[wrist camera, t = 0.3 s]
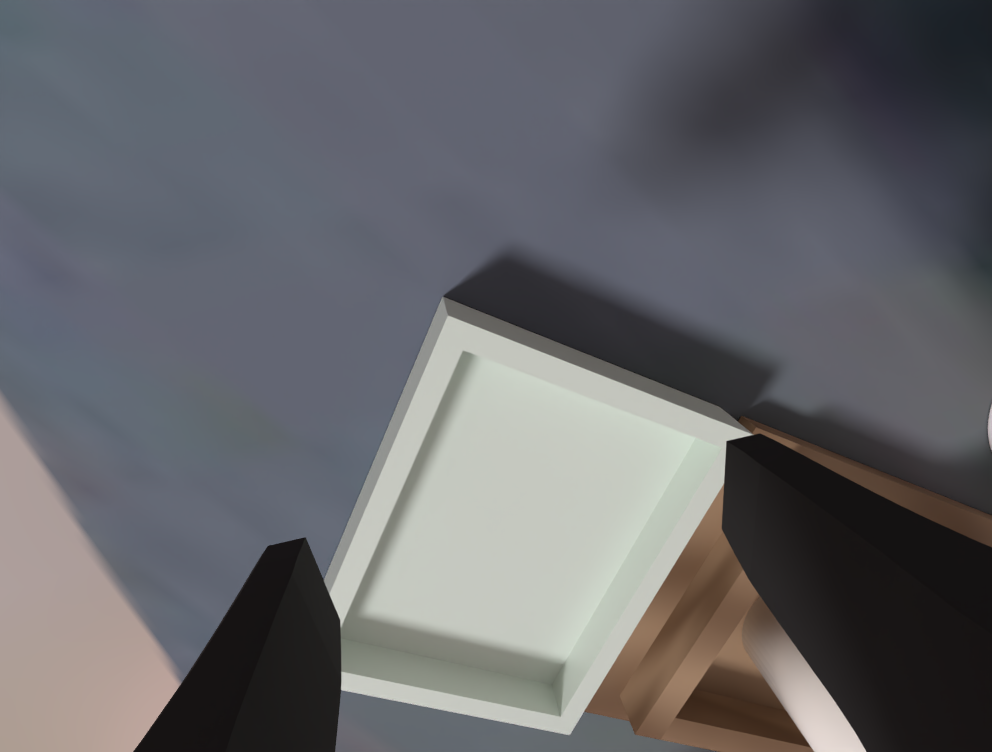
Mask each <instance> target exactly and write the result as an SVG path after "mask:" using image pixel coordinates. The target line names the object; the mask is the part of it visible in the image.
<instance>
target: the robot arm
mask: <svg viewBox="0 0 992 752" xmlns="http://www.w3.org/2000/svg"><path fill="white" fill-rule="evenodd" d="M722 531H723V533H724V534H725V536H726V538H727V540H728V542H729V544H730V546H731V548H732V550H733V552H734V554H735V556H736V558H737V559H738V561H739V563H740V565H741V566H742V568H743V570H744V572H745V574H746V575H747V577H748V579H749V581H750V582H751V584H752V585H753V587H754V588H755V590H756V591H757V593H758V594H759V595H760V597H761V598H762V600H763V601H764V603H765V604H766V605H767V607H768V608H769V610H770V611H771V613H772V614H773V615H774V617H775V618H776V620H777V621H778V623H779V624H780V625H781V627H782V628H783V630H784V631H785V632H786V634H787V635H788V637H789V638H790V639H791V641H792V642H793V644H794V645H795V646H796V648H797V649H798V651H799V652H800V653H801V655H802V656H803V658H804V659H805V660H806V662H807V663H808V665H809V666H810V667H811V669H812V670H813V672H814V673H815V674H816V676H817V677H818V679H819V680H820V681H821V683H822V684H823V686H824V687H825V688H826V690H827V691H828V693H829V694H830V695H831V697H832V698H833V700H834V701H835V703H836V704H837V706H838V707H839V709H840V710H841V712H842V713H843V715H844V716H845V718H846V719H847V721H848V722H849V724H850V725H851V727H852V728H853V730H854V731H855V733H856V735H857V737H858V738H859V740H860V742H861V743H862V745H863V747H864V748H865V750H866V752H992V547H990V546H988V545H985V544H983V543H980V542H978V541H976V540H974V539H971V538H969V537H967V536H965V535H963V534H960V533H958V532H956V531H954V530H952V529H949V528H947V527H945V526H943V525H941V524H938V523H936V522H934V521H932V520H930V519H927V518H925V517H923V516H921V515H919V514H917V513H915V512H913V511H911V510H909V509H907V508H905V507H902V506H900V505H898V504H896V503H894V502H892V501H890V500H888V499H886V498H884V497H882V496H880V495H878V494H876V493H874V492H873V491H871V490H869V489H867V488H865V487H863V486H861V485H859V484H857V483H855V482H853V481H851V480H849V479H847V478H845V477H844V476H842V475H840V474H838V473H836V472H834V471H832V470H830V469H828V468H827V467H825V466H823V465H821V464H819V463H817V462H815V461H813V460H811V459H810V458H808V457H806V456H804V455H802V454H800V453H798V452H796V451H794V450H793V449H791V448H789V447H787V446H785V445H783V444H781V443H779V442H777V441H775V440H773V439H771V438H769V437H767V436H765V435H763V434H761V433H759V434H755V435H750V436H746V437H742V438H737V439H733V440H729V441H726V458H725V476H724V494H723V511H722ZM340 694H341V626H340V618H339V616H338V613H337V611H336V609H335V606H334V604H333V602H332V599H331V597H330V594H329V592H328V590H327V587H326V585H325V583H324V580H323V578H322V575H321V573H320V571H319V568H318V566H317V564H316V561H315V559H314V556H313V554H312V552H311V549H310V547H309V545H308V542H307V540H306V537H305V538H301V539H296V540H292V541H288V542H283V543H279V544H275V545H270V546H268V547H267V548H266V550H265V551H264V553H263V554H262V556H261V557H260V559H259V561H258V562H257V564H256V565H255V567H254V569H253V570H252V572H251V574H250V575H249V577H248V579H247V580H246V582H245V584H244V585H243V587H242V589H241V590H240V592H239V594H238V595H237V597H236V599H235V600H234V602H233V603H232V605H231V607H230V608H229V610H228V612H227V613H226V615H225V616H224V618H223V620H222V621H221V623H220V625H219V626H218V628H217V629H216V631H215V632H214V634H213V636H212V637H211V639H210V640H209V642H208V643H207V645H206V647H205V648H204V650H203V651H202V653H201V654H200V656H199V657H198V659H197V661H196V662H195V664H194V665H193V667H192V668H191V670H190V671H189V673H188V674H187V676H186V677H185V679H184V680H183V682H182V683H181V685H180V686H179V688H178V689H177V691H176V692H175V694H174V695H173V697H172V698H171V699H170V701H169V702H168V704H167V705H166V706H165V708H164V709H163V711H162V712H161V714H160V715H159V716H158V718H157V719H156V721H155V722H154V724H153V725H152V726H151V728H150V729H149V731H148V732H147V734H146V735H145V736H144V738H143V739H142V741H141V742H140V743H139V745H138V746H137V747H136V749H135V750H134V751H133V752H335V746H336V737H337V726H338V715H339V705H340Z"/></svg>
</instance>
